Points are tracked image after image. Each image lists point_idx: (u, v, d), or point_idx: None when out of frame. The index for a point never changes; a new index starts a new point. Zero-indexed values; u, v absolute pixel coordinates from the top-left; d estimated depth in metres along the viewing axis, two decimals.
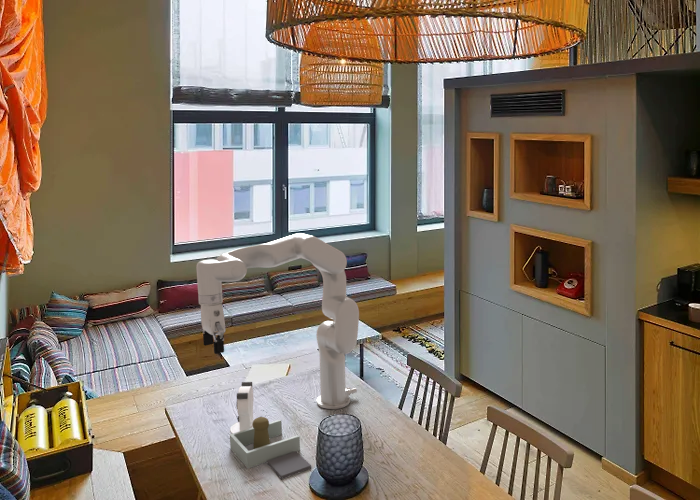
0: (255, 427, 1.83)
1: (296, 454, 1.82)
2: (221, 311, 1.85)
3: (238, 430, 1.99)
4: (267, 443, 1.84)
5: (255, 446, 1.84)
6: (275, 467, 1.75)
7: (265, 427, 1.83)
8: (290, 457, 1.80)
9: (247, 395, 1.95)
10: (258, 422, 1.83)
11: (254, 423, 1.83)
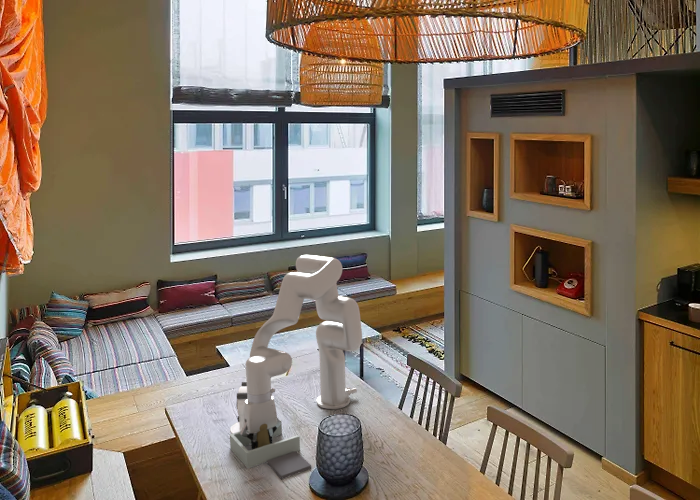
0: None
1: (296, 454, 1.82)
2: None
3: (238, 430, 1.99)
4: (267, 443, 1.84)
5: (255, 446, 1.84)
6: (275, 467, 1.75)
7: (265, 427, 1.83)
8: (290, 457, 1.80)
9: None
10: None
11: None
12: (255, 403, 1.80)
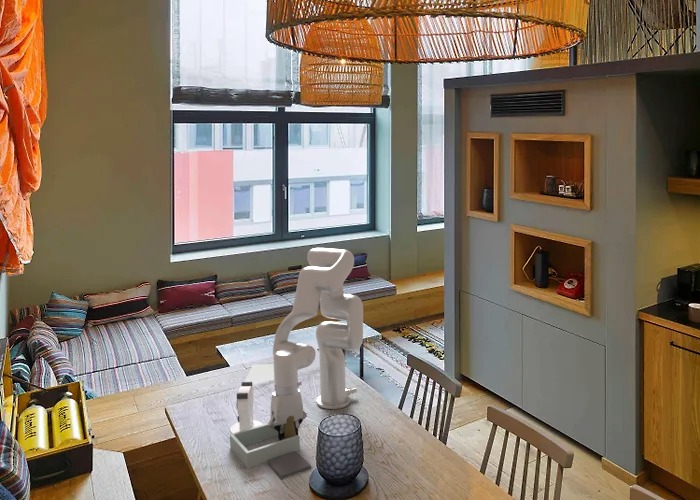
0: None
1: (296, 454, 1.82)
2: None
3: (238, 430, 1.99)
4: (293, 435, 1.89)
5: None
6: (275, 467, 1.75)
7: (292, 419, 1.88)
8: (290, 457, 1.80)
9: (247, 395, 1.95)
10: None
11: None
12: (283, 395, 1.85)
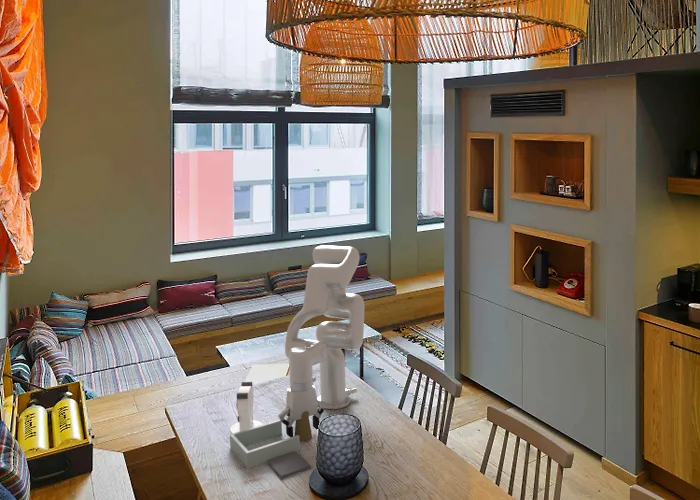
0: None
1: (296, 454, 1.82)
2: None
3: (238, 430, 1.99)
4: (308, 430, 1.92)
5: (297, 433, 1.92)
6: (275, 467, 1.75)
7: (307, 415, 1.91)
8: (290, 457, 1.80)
9: (247, 395, 1.95)
10: None
11: None
12: (298, 391, 1.88)
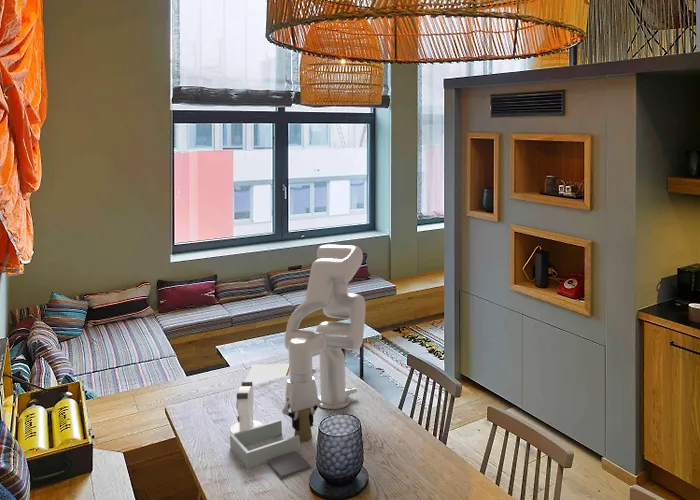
0: None
1: (296, 454, 1.82)
2: None
3: (238, 430, 1.99)
4: (308, 430, 1.92)
5: (297, 432, 1.92)
6: (275, 467, 1.75)
7: (307, 414, 1.91)
8: (290, 457, 1.80)
9: (247, 395, 1.95)
10: None
11: None
12: (298, 382, 1.87)
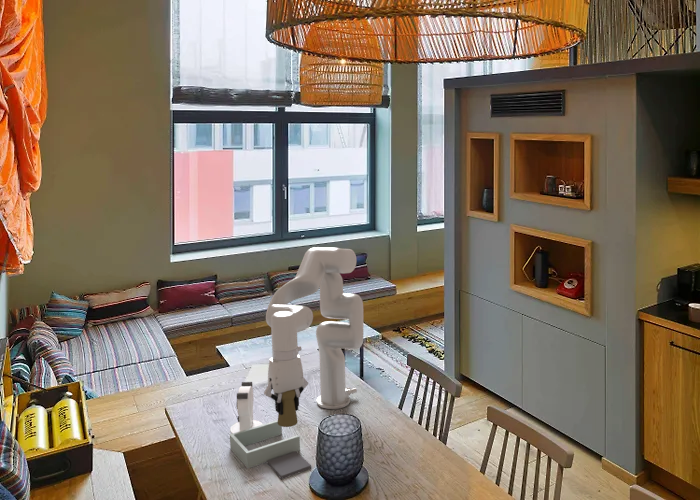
0: None
1: (296, 454, 1.82)
2: None
3: (238, 430, 1.99)
4: (293, 414, 1.74)
5: (280, 417, 1.73)
6: (275, 467, 1.75)
7: (292, 396, 1.72)
8: (290, 457, 1.80)
9: (247, 395, 1.95)
10: None
11: None
12: (281, 360, 1.68)
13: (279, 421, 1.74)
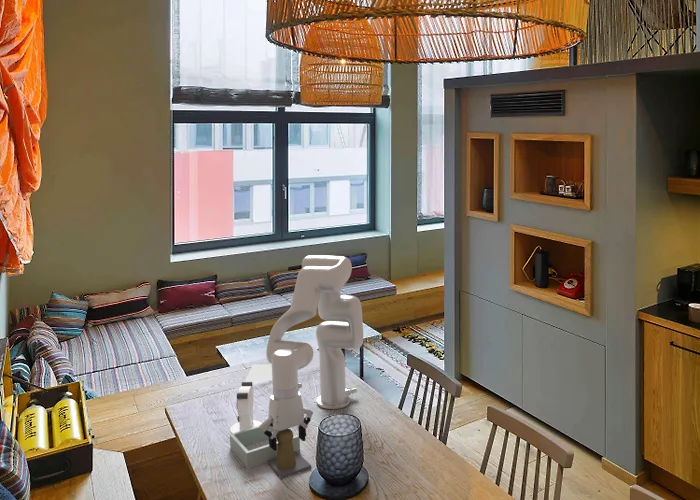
0: (279, 439, 1.73)
1: (296, 454, 1.82)
2: None
3: (238, 430, 1.99)
4: (291, 456, 1.75)
5: (279, 459, 1.74)
6: (275, 467, 1.75)
7: (289, 439, 1.73)
8: None
9: (247, 395, 1.95)
10: (282, 434, 1.73)
11: (278, 435, 1.73)
12: (282, 399, 1.69)
13: (277, 463, 1.75)
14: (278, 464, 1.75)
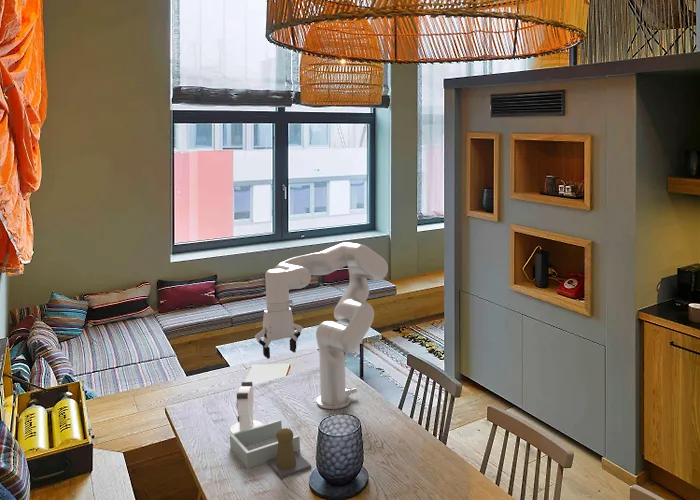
0: (279, 439, 1.73)
1: (296, 454, 1.82)
2: None
3: (238, 430, 1.99)
4: (291, 456, 1.75)
5: (279, 459, 1.74)
6: (275, 467, 1.75)
7: (289, 439, 1.73)
8: None
9: (247, 395, 1.95)
10: (282, 434, 1.73)
11: (278, 435, 1.73)
12: (274, 311, 1.91)
13: (277, 463, 1.75)
14: (278, 464, 1.75)
